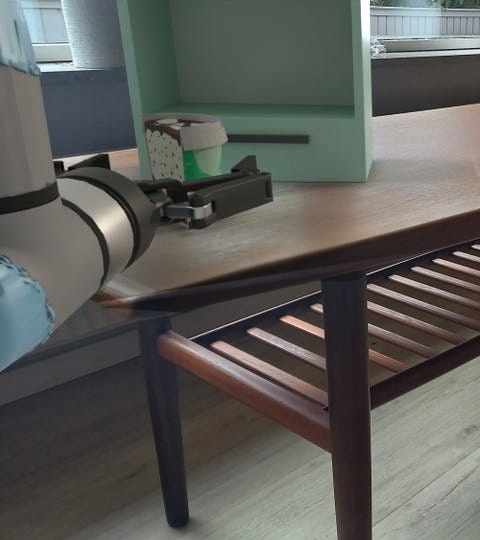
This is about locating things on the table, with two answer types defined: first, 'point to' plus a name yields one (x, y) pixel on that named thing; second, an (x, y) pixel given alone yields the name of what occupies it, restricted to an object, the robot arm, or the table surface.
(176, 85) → the mint green cubby cabinet
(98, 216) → the robot arm
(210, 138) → the food container
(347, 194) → the table surface
